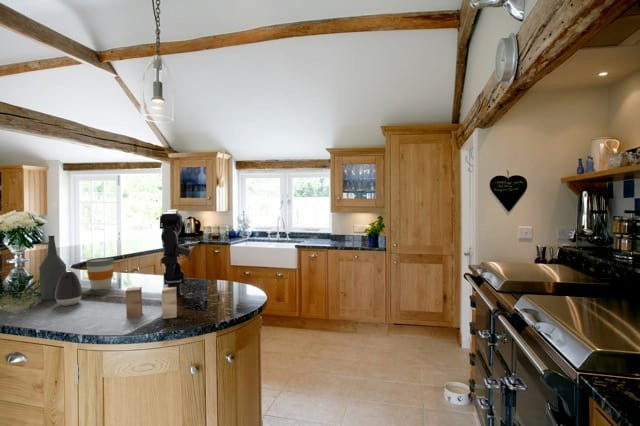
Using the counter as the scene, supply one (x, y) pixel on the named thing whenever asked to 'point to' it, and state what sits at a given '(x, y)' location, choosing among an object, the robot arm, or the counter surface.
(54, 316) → the counter surface
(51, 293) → the bottle
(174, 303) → the maple block
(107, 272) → the reusable coffee cup
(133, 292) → the walnut block
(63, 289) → the aroma diffuser
